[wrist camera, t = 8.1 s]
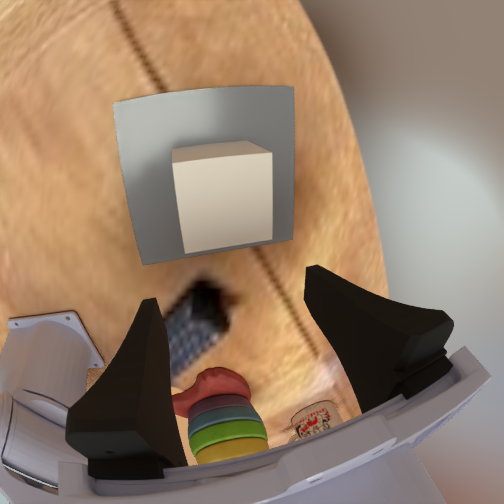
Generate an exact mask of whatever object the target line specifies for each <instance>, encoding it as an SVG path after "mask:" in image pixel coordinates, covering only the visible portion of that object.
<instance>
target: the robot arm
mask: <svg viewBox="0 0 504 504" xmlns="http://www.w3.org/2000/svg"><path fill="white" fill-rule="evenodd" d="M304 301H305V303H306V306H307V308H308V310H309V312H310V314H311V316H312V317H313V319H314V320H315V322H316V323H317V325H318V326H319V328H320V329H321V331H322V332H323V334H324V335H325V337H326V338H327V340H328V341H329V343H330V344H331V346H332V347H333V349H334V350H335V352H336V354H337V356H338V358H339V360H340V362H341V364H342V366H343V368H344V370H345V372H346V374H347V376H348V379H349V381H350V383H351V385H352V388H353V390H354V393H355V395H356V398H357V400H358V403H359V406H360V409H361V412H362V414H361V415H359V416H357V417H355V418H353V419H351V420H348V421H346V422H344V423H342V424H339V425H337V426H334V427H332V428H330V429H327V430H325V431H322V432H319V433H317V434H314V435H311V436H309V437H306V438H303V439H300V440H297V441H294V442H291V443H288V444H285V445H282V446H279V447H275V448H272V449H268V450H265V451H261V452H257V453H253V454H249V455H245V456H241V457H237V458H232V459H227V460H222V461H217V462H211V463H206V464H199V465H193V466H188V463H187V460H186V456H185V453H184V449H183V446H182V442H181V438H180V434H179V430H178V426H177V421H176V416H175V411H174V406H173V401H172V394H171V382H170V358H169V343H168V336H167V329H166V326H165V324H164V321H163V318H162V315H161V312H160V309H159V306H158V303H157V300H156V297H155V298H150V299H144V300H143V301H142V302H141V304H140V307H139V309H138V312H137V314H136V316H135V319H134V321H133V323H132V325H131V327H130V329H129V331H128V333H127V335H126V337H125V339H124V341H123V343H122V345H121V347H120V348H119V350H118V352H117V353H116V355H115V357H114V358H113V360H112V361H111V363H110V364H109V366H108V367H107V368H106V370H105V371H104V372H103V374H102V375H101V376H100V378H99V379H98V380H97V381H96V382H95V384H94V385H93V386H92V387H91V388H90V389H89V390H88V391H87V392H86V385H87V376H88V369H89V368H101V367H104V364H105V363H104V361H103V359H102V358H101V356H100V355H99V353H98V351H97V350H96V348H95V346H94V345H93V343H92V341H91V339H90V338H89V336H88V334H87V332H86V330H85V329H84V327H83V325H82V323H81V321H80V319H79V317H78V315H77V314H76V313H75V312H73V311H70V312H62V313H55V314H48V315H40V316H32V317H24V318H16V319H9V320H8V321H7V325H8V326H9V328H10V332H9V334H8V336H7V339H6V341H5V343H4V346H3V349H2V351H1V354H0V492H1V493H2V494H3V495H4V496H5V497H6V499H7V500H8V501H9V504H447V503H446V502H445V500H444V499H443V497H442V495H441V494H440V492H439V490H438V489H437V487H436V486H435V484H434V482H433V481H432V479H431V477H430V476H429V474H428V473H427V471H426V469H425V468H424V466H423V465H422V463H421V461H420V460H419V458H418V457H417V455H416V453H415V452H414V450H413V449H412V448H414V447H415V446H417V445H418V444H420V443H421V442H422V441H424V440H425V439H426V438H428V437H429V436H430V435H432V434H433V433H434V432H435V431H437V430H438V429H439V428H441V427H442V426H443V425H444V424H445V423H447V422H448V421H449V420H450V419H452V418H453V417H454V416H455V415H456V414H457V413H459V412H460V411H461V410H462V409H463V408H464V407H465V406H467V405H468V404H469V402H470V401H471V400H472V399H473V398H474V397H475V396H476V395H477V394H478V393H479V392H480V390H481V389H482V388H483V387H484V386H485V385H486V384H487V382H488V381H489V380H490V379H491V375H490V373H489V372H488V371H487V370H486V369H485V368H484V366H483V365H482V364H481V363H480V362H479V361H478V360H477V359H476V358H475V356H474V355H473V354H472V353H471V352H470V351H469V350H468V349H467V348H466V347H465V346H464V347H462V348H461V349H459V350H458V351H457V352H456V353H454V354H453V355H452V356H451V357H450V358H449V359H448V358H447V357H446V356H445V355H446V353H447V351H446V350H445V349H444V345H445V343H446V342H447V340H448V338H449V336H450V334H451V333H452V330H453V327H454V322H453V320H452V319H451V318H450V317H449V316H448V315H447V314H446V313H445V312H444V311H442V310H435V309H426V308H420V307H415V306H410V305H406V304H402V303H399V302H395V301H392V300H389V299H386V298H384V297H381V296H379V295H376V294H374V293H371V292H369V291H367V290H365V289H363V288H361V287H358V286H356V285H355V284H353V283H351V282H349V281H347V280H345V279H343V278H341V277H340V276H338V275H336V274H334V273H332V272H331V271H329V270H327V269H325V268H323V267H321V266H319V265H313V266H309V267H306V276H305V289H304ZM67 316H68V317H67ZM69 317H70V318H69ZM2 463H3V464H5V465H6V466H9V467H10V468H13V469H15V470H17V471H19V472H21V473H23V474H25V475H28V476H30V477H32V478H35V479H37V480H40V481H42V482H45V483H48V484H50V485H53V486H56V487H58V488H54V487H50V486H47V485H45V484H42V483H39V482H37V481H34V480H32V479H30V478H27V477H25V476H23V475H20V474H18V473H16V472H14V471H12V470H9V469H8V468H6V467H5V466H3V464H2Z"/></svg>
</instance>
